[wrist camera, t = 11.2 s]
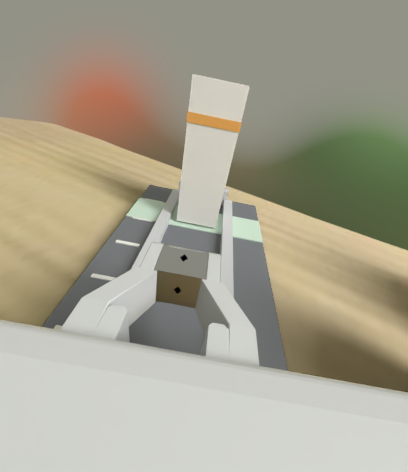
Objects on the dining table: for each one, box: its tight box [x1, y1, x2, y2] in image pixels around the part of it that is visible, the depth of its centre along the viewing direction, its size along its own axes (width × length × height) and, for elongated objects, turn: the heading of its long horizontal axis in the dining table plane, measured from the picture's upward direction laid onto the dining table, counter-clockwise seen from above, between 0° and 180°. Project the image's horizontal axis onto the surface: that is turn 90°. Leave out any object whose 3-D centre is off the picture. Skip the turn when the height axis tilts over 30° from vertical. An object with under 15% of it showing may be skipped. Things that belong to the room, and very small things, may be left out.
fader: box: [177, 75, 249, 228], centre depth 20 cm, size 4×3×12 cm
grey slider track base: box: [42, 180, 288, 371], centre depth 18 cm, size 14×24×3 cm, turn 174°
